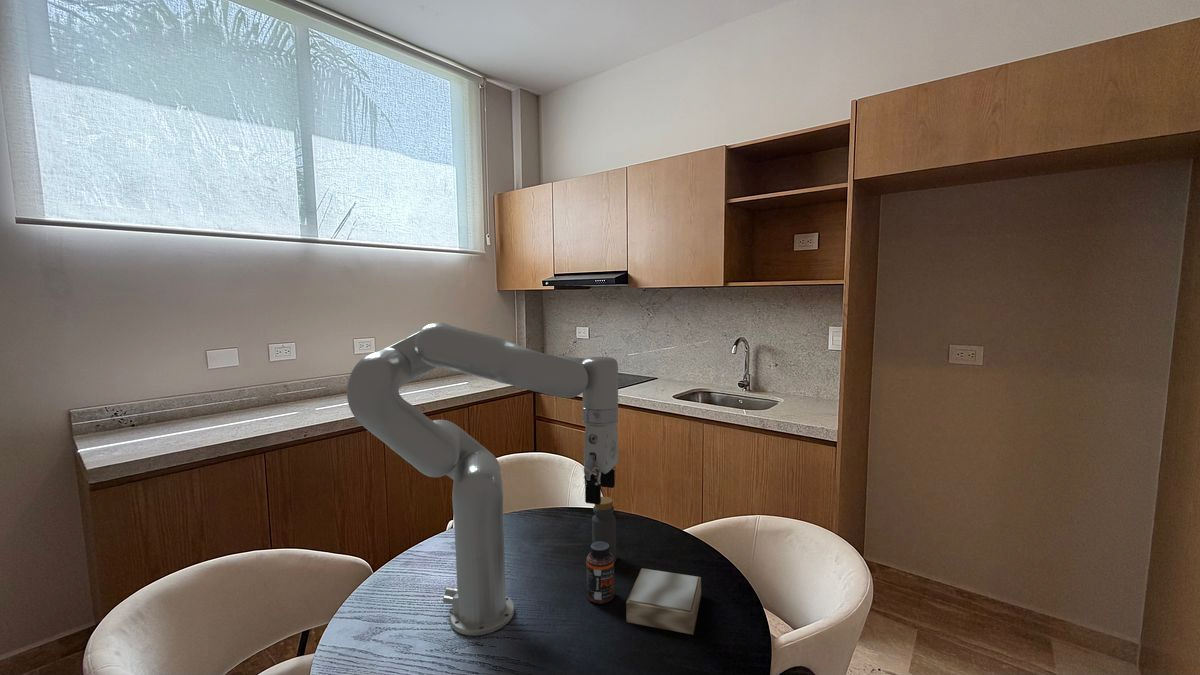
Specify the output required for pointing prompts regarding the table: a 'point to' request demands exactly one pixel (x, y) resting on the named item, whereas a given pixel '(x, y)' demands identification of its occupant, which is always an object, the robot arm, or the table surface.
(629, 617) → the grey square box
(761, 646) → the table surface
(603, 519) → the bottle
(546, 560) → the table surface
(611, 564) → the supplement bottle
